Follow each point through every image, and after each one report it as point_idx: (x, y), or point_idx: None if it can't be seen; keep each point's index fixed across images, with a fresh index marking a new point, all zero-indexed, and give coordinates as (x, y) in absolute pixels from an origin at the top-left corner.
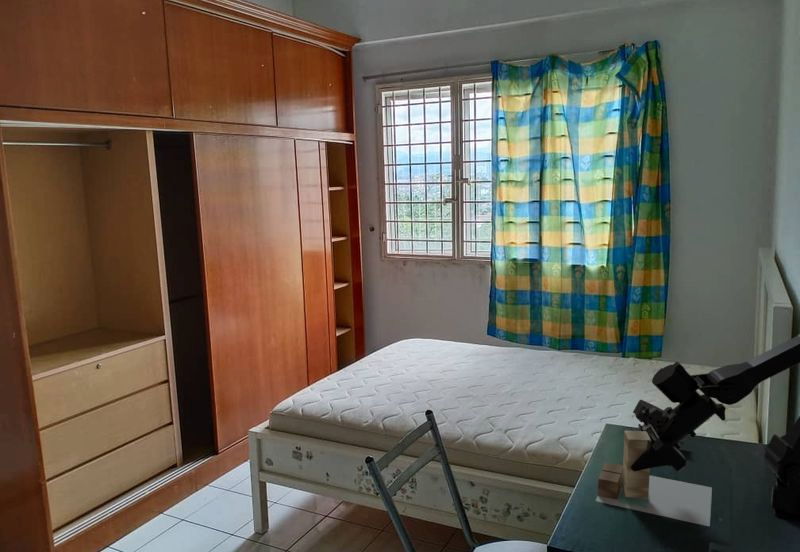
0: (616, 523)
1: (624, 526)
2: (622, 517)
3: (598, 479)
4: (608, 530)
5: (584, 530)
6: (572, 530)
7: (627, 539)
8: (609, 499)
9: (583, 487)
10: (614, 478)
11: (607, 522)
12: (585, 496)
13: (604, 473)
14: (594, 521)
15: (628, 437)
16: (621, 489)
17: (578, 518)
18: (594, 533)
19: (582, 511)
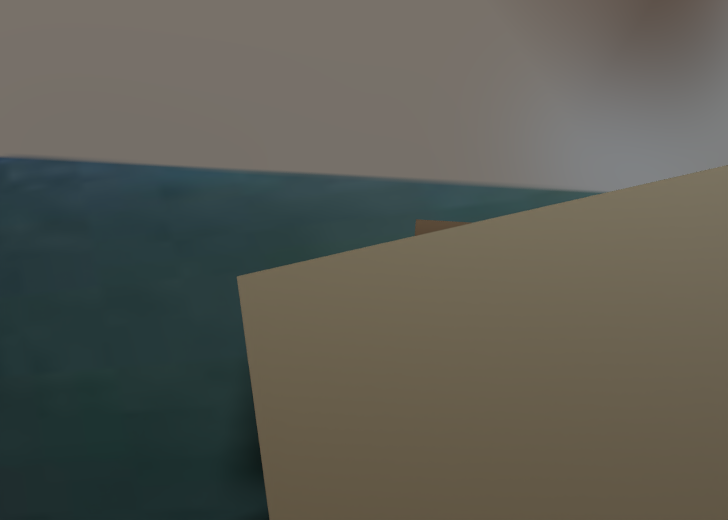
0: (169, 413)
1: (144, 464)
2: (248, 445)
3: (416, 224)
4: (84, 374)
5: (66, 256)
6: (58, 205)
7: (3, 489)
8: None
9: (529, 197)
10: None
11: (169, 361)
12: (425, 219)
13: None
14: (164, 293)
15: (431, 269)
16: None
17: (176, 216)
18: (44, 306)
19: (253, 225)
